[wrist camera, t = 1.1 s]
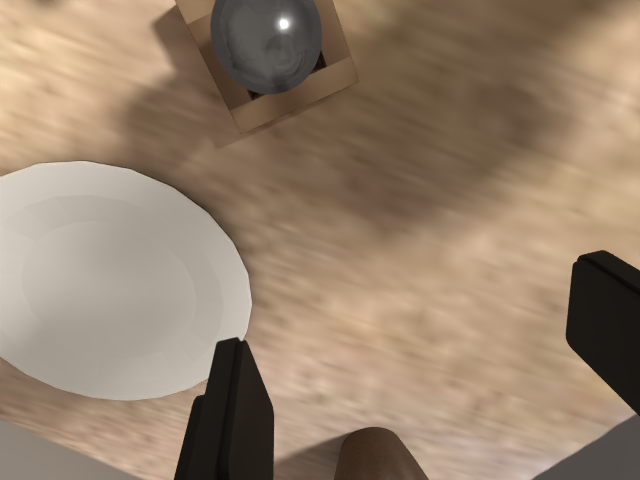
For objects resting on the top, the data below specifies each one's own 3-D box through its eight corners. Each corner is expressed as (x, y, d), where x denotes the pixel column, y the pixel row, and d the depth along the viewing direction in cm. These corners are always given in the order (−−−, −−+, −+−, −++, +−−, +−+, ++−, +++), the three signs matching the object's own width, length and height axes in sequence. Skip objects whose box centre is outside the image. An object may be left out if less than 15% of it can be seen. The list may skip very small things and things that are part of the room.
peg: (291, -16, 25) (295, -54, 16) (320, 64, 28) (338, 68, 19) (221, 18, 26) (188, -2, 17) (255, 93, 28) (242, 111, 19)
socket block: (306, -61, 24) (308, -73, 22) (353, 79, 28) (359, 81, 26) (181, -1, 25) (171, -6, 23) (244, 128, 29) (241, 134, 27)
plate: (306, 296, 37) (307, 306, 35) (137, 423, 42) (132, 437, 41) (81, 84, 27) (69, 86, 26) (-101, 284, 33) (-120, 296, 31)
